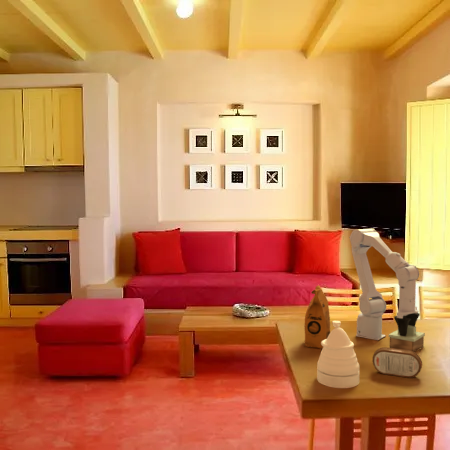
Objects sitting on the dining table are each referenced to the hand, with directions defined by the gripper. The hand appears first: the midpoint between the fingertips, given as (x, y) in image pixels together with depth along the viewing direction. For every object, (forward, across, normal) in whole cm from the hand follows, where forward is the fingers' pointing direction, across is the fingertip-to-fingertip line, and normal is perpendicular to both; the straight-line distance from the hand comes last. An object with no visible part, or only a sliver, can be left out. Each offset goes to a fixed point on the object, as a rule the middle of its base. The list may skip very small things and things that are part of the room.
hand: (406, 333), depth 189 cm
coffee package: (+5, -18, +28) cm, 34 cm away
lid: (+1, 0, 0) cm, 1 cm away
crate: (+5, 0, 0) cm, 5 cm away
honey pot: (+6, -47, +3) cm, 47 cm away
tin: (+6, -31, -9) cm, 33 cm away
